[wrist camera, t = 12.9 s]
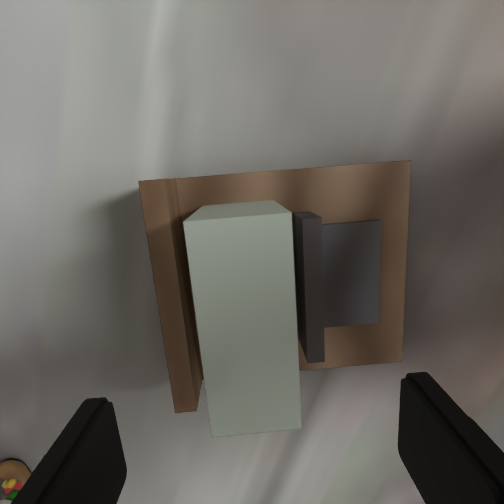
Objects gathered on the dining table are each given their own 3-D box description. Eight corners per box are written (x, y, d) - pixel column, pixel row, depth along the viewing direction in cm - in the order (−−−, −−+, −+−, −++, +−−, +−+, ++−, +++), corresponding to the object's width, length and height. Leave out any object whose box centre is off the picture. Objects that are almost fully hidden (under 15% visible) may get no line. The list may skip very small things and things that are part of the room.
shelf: (400, 161, 23) (442, 157, 18) (393, 351, 27) (426, 389, 22) (159, 179, 23) (138, 180, 18) (186, 370, 27) (175, 412, 22)
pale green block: (273, 199, 22) (291, 212, 14) (282, 350, 25) (302, 428, 17) (203, 205, 22) (183, 221, 14) (220, 355, 25) (211, 437, 17)
